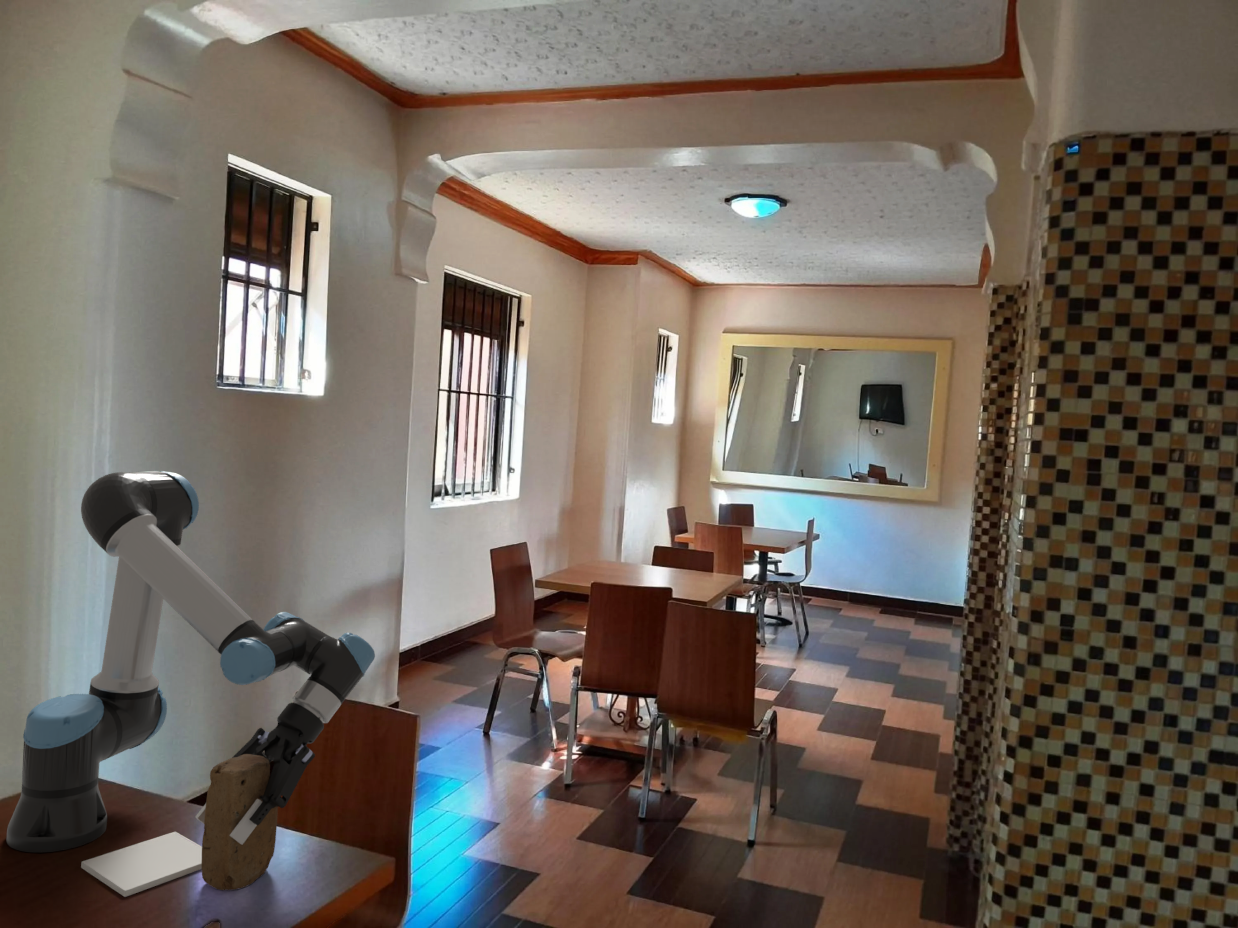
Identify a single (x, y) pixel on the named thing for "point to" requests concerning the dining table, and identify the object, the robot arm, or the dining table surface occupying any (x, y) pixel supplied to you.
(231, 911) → the dining table surface
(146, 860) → the mat
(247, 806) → the block
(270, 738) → the robot arm
